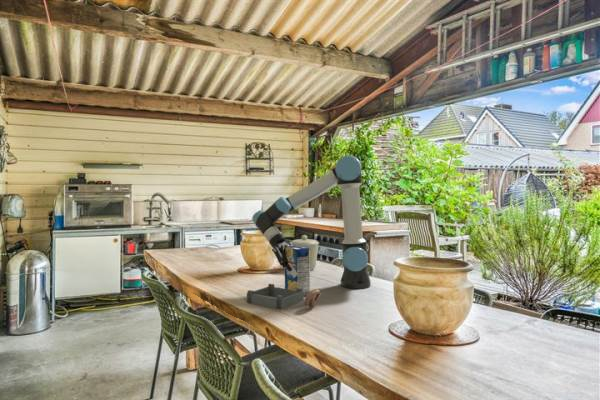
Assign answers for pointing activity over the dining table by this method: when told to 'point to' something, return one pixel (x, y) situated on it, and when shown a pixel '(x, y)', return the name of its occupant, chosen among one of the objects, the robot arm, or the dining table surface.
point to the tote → (283, 296)
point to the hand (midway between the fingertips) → (302, 273)
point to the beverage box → (298, 268)
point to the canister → (309, 244)
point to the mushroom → (311, 298)
